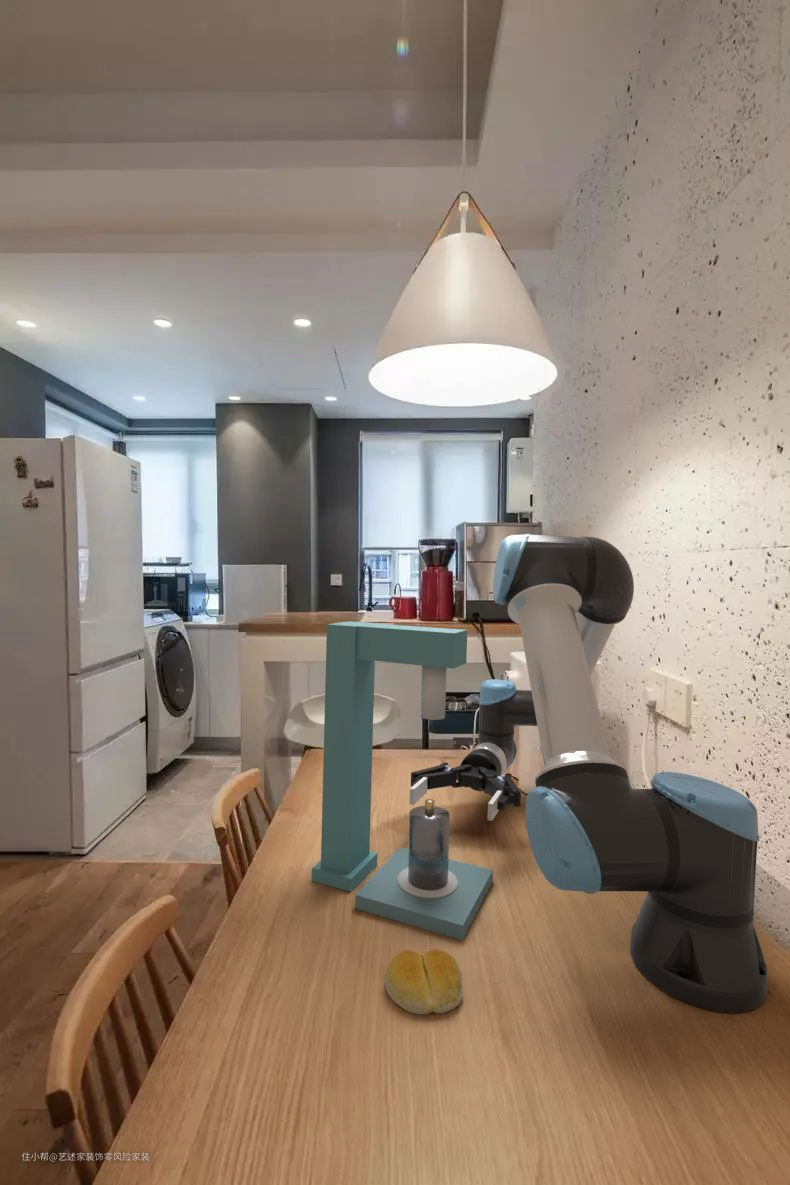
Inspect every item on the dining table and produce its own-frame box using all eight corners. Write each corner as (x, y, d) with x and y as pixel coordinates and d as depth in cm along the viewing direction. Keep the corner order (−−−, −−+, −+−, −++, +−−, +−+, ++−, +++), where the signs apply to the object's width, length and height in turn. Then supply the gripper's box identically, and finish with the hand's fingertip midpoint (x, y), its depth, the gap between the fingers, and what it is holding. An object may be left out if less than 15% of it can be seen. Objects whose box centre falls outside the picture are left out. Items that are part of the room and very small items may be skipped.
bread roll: (383, 968, 70) (384, 936, 70) (456, 967, 71) (457, 935, 71) (386, 1020, 62) (387, 984, 62) (468, 1019, 63) (469, 983, 62)
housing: (451, 889, 83) (453, 808, 83) (410, 891, 83) (412, 809, 82) (444, 868, 89) (445, 792, 89) (406, 869, 89) (407, 793, 88)
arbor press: (492, 882, 90) (501, 629, 89) (462, 940, 76) (472, 638, 74) (349, 846, 101) (356, 619, 99) (299, 891, 86) (305, 626, 85)
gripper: (546, 796, 109) (524, 842, 90) (424, 775, 119) (381, 812, 100) (548, 757, 109) (526, 795, 90) (425, 739, 119) (382, 769, 100)
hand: (449, 804), depth 95 cm, fingers open, 13 cm apart
